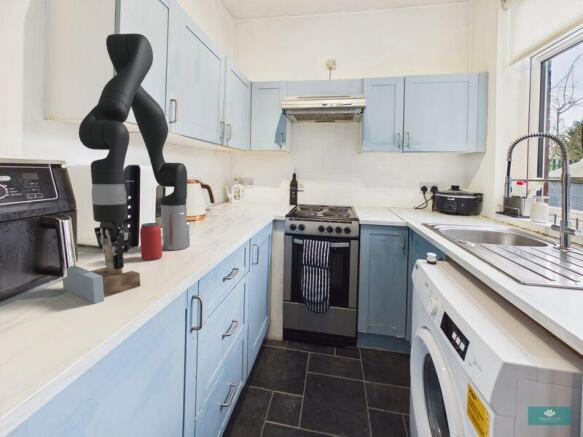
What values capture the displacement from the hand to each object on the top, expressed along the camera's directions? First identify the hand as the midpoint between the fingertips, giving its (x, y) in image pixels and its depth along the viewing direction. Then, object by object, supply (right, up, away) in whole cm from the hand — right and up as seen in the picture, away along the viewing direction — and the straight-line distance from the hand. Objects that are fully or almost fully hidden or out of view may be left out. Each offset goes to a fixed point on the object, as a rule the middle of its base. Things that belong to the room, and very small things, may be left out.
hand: (114, 266), depth 79 cm
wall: (-4, -6, -6) cm, 9 cm away
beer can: (-2, -1, +26) cm, 26 cm away
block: (-1, -5, -1) cm, 5 cm away
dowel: (0, -4, +1) cm, 4 cm away
